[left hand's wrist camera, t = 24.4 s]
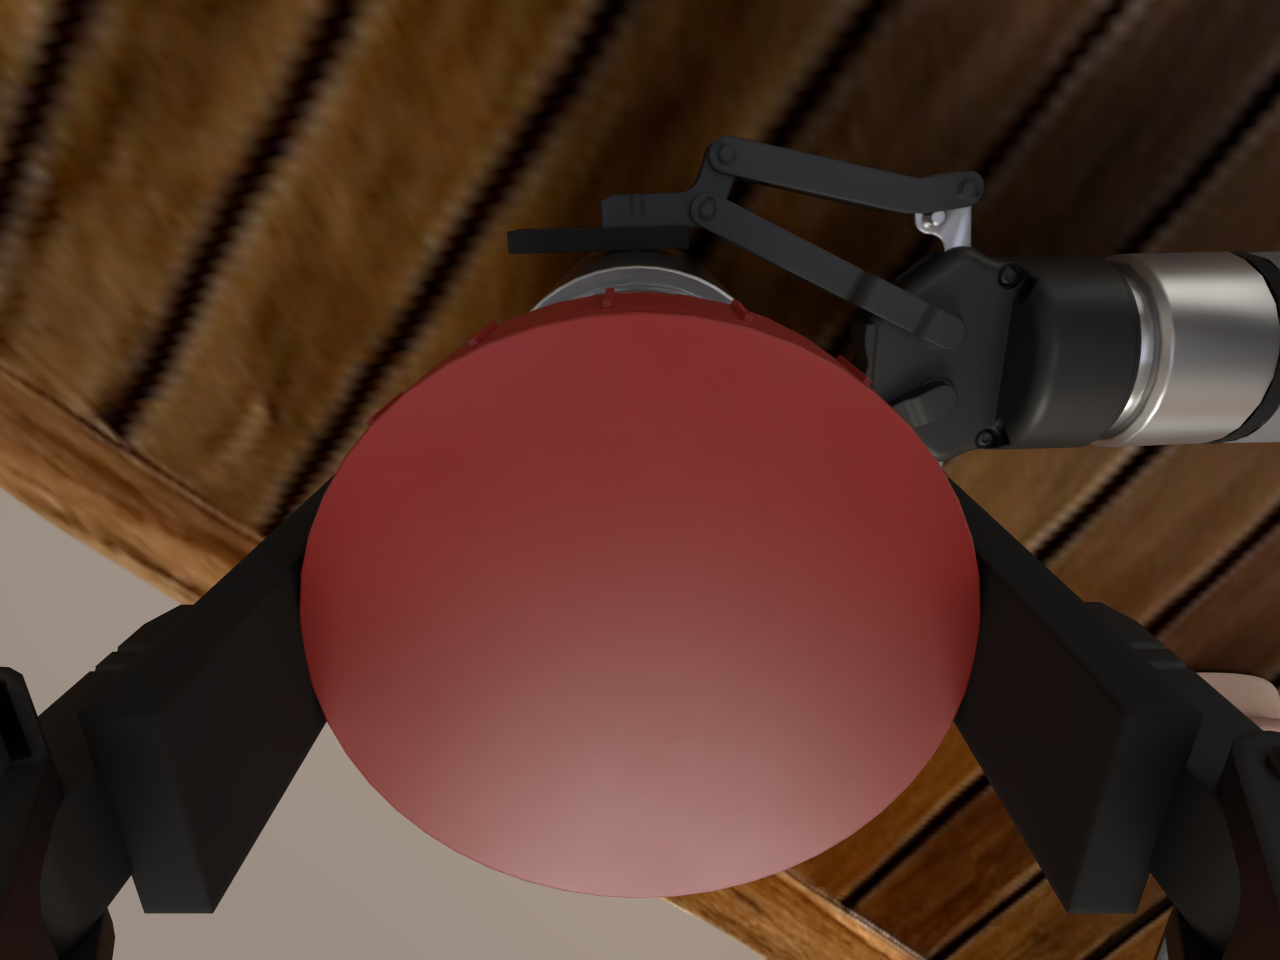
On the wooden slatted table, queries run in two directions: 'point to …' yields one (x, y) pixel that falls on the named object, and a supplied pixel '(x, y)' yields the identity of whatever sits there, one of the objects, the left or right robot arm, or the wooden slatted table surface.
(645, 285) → the jar
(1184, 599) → the wooden slatted table surface
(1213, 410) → the right robot arm
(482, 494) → the lid
